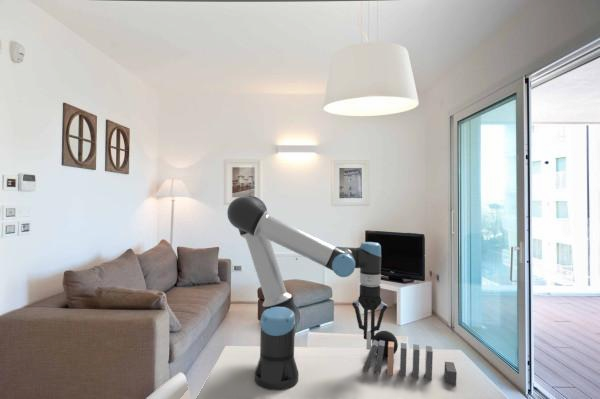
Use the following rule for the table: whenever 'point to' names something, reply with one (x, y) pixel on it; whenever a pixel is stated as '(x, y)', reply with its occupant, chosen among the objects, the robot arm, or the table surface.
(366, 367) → the domino
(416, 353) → the domino
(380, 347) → the domino
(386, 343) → the black ball
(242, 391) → the table surface
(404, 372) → the domino
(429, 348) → the domino
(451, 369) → the block
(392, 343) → the domino
